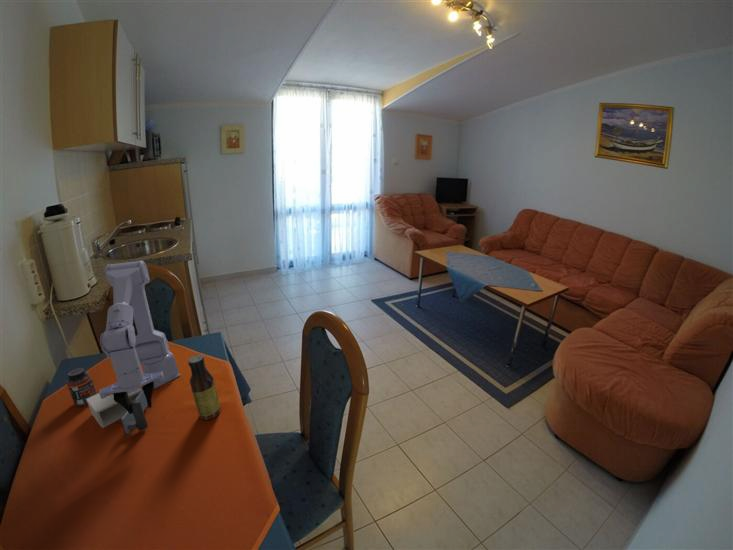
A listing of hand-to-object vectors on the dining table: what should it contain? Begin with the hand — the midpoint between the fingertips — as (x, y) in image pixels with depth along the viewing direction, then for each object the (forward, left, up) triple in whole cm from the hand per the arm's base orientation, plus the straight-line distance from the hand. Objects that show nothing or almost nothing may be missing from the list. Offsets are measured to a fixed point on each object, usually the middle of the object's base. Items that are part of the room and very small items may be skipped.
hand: (140, 408), depth 96 cm
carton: (+2, -15, -7) cm, 17 cm away
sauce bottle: (-14, +9, -8) cm, 18 cm away
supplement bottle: (+7, -29, -8) cm, 31 cm away
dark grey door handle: (-1, -4, -7) cm, 8 cm away
